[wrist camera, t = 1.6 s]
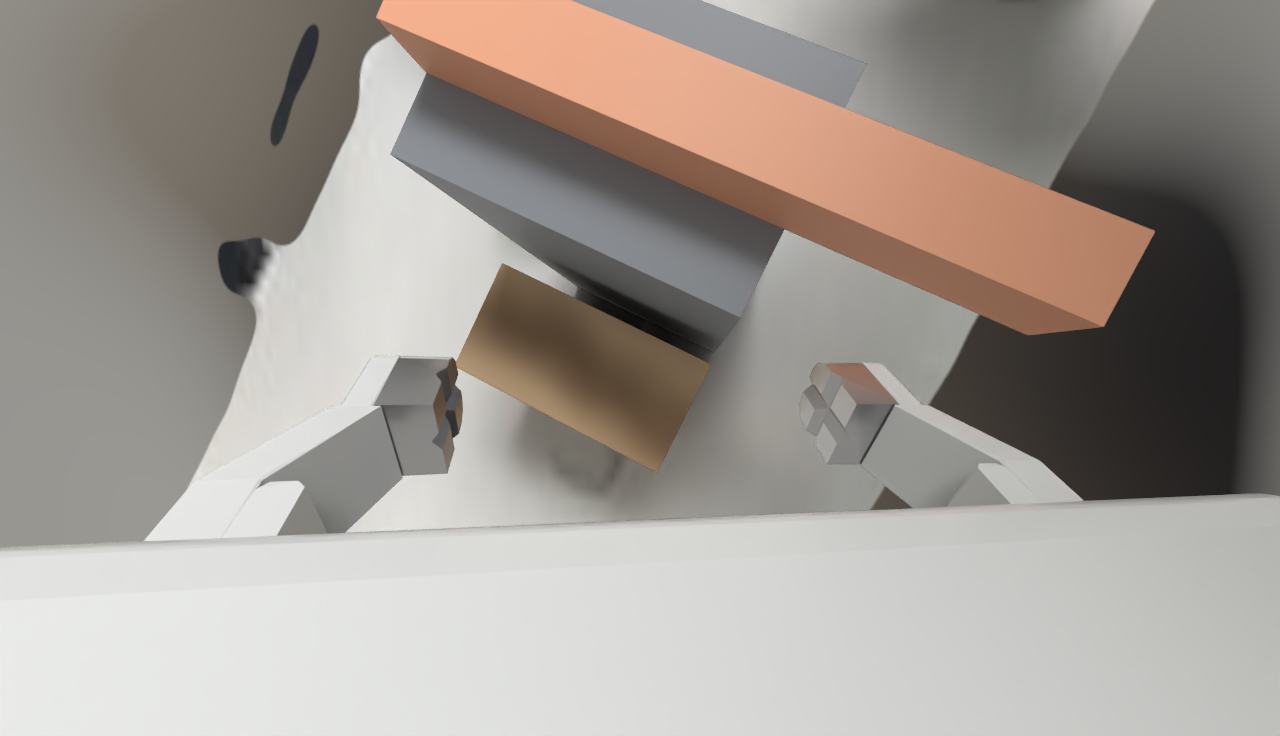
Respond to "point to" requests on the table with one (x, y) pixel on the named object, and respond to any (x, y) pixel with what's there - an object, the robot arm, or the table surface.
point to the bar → (785, 157)
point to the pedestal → (620, 180)
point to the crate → (582, 367)
